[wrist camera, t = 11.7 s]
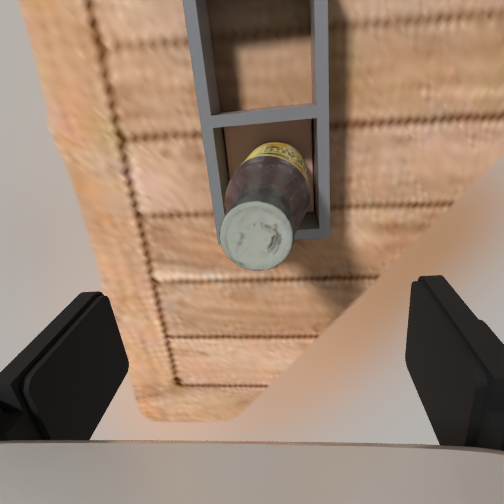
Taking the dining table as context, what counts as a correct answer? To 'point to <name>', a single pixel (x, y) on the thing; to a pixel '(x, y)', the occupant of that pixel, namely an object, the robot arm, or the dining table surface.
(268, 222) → the sauce bottle
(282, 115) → the dock
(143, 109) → the dining table surface
